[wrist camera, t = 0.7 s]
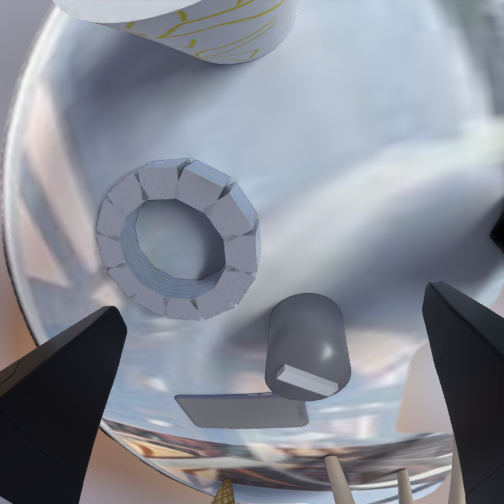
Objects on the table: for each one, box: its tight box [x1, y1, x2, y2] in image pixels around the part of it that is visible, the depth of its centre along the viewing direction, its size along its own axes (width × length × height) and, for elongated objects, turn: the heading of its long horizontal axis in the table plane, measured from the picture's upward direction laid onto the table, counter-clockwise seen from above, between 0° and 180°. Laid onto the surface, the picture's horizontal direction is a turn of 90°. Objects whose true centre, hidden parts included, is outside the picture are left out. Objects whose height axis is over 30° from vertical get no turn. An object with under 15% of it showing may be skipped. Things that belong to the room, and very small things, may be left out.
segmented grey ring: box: [96, 158, 260, 321], centre depth 21 cm, size 12×12×2 cm
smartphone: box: [175, 392, 309, 429], centre depth 32 cm, size 8×1×15 cm
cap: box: [265, 293, 351, 401], centre depth 22 cm, size 6×6×7 cm
